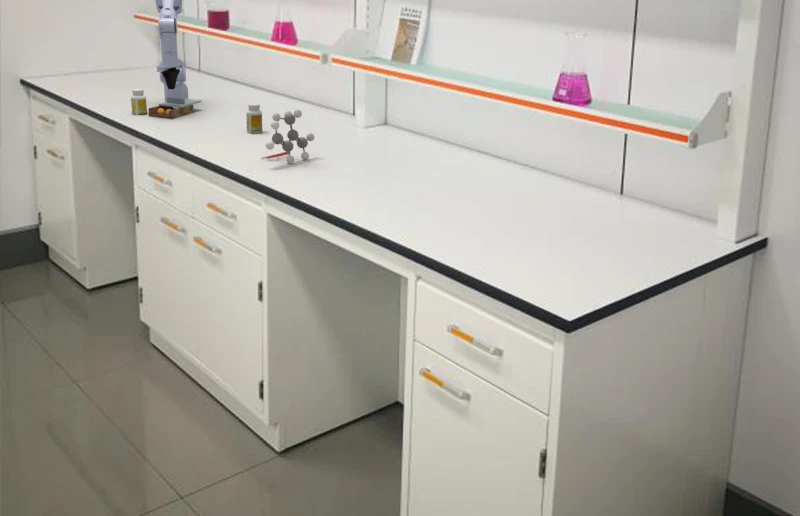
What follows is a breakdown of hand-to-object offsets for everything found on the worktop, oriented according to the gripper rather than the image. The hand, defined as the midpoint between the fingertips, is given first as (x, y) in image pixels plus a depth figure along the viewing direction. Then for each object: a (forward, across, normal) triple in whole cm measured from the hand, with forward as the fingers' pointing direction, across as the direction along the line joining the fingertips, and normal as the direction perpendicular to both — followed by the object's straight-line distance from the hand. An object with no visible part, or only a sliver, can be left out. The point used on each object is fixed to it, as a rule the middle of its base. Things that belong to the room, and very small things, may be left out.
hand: (171, 89), depth 331 cm
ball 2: (+10, +4, +1) cm, 10 cm away
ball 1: (+10, +3, -3) cm, 11 cm away
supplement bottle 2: (+11, +10, +39) cm, 41 cm away
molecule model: (+11, +42, +65) cm, 78 cm away
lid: (+6, -7, 0) cm, 9 cm away
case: (+10, 0, -1) cm, 10 cm away
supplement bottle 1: (+11, +4, -12) cm, 16 cm away
